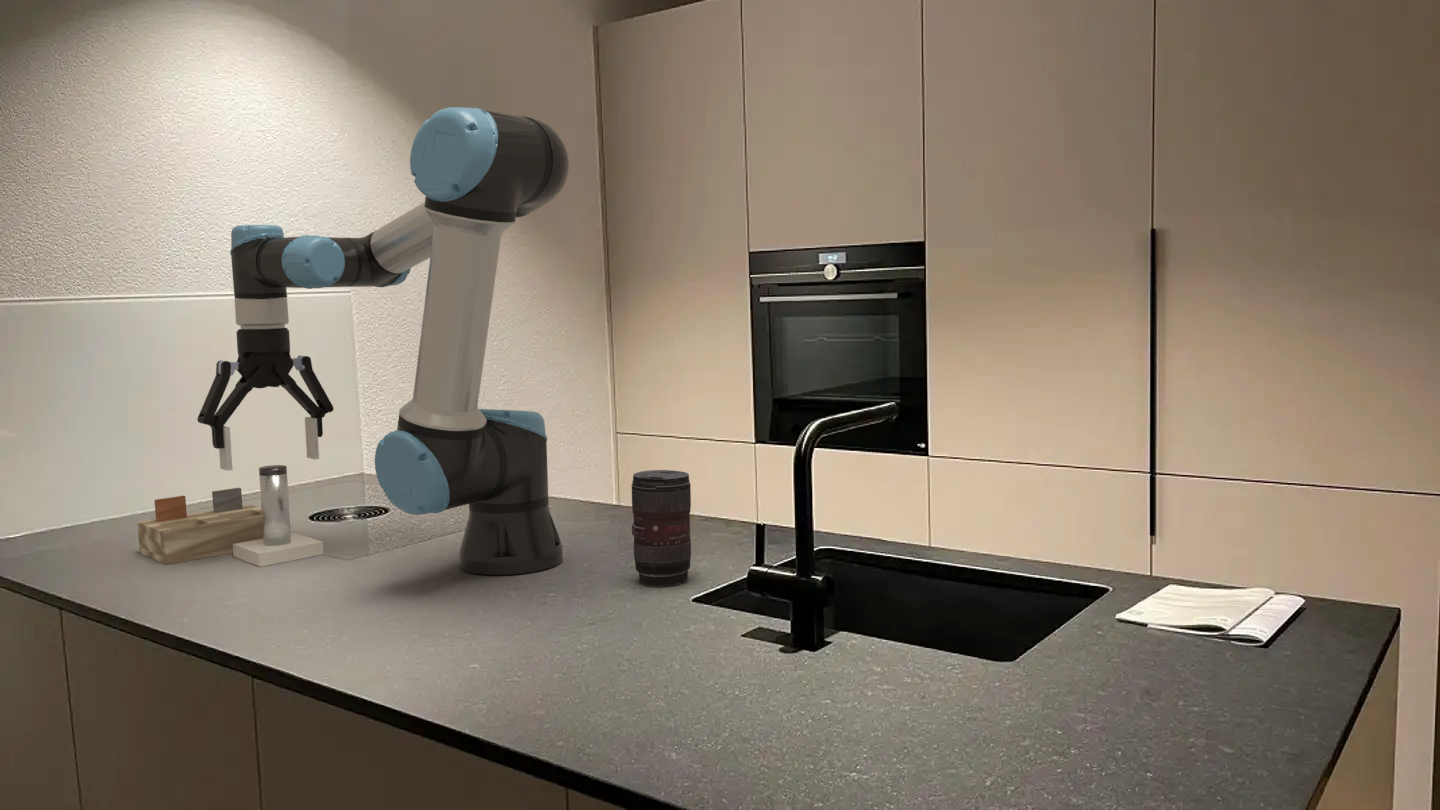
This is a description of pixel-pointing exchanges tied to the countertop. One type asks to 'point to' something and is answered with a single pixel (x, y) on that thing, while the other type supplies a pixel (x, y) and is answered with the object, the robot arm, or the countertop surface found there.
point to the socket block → (199, 528)
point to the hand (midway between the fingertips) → (270, 463)
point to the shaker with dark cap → (275, 505)
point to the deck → (277, 550)
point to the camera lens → (661, 526)
